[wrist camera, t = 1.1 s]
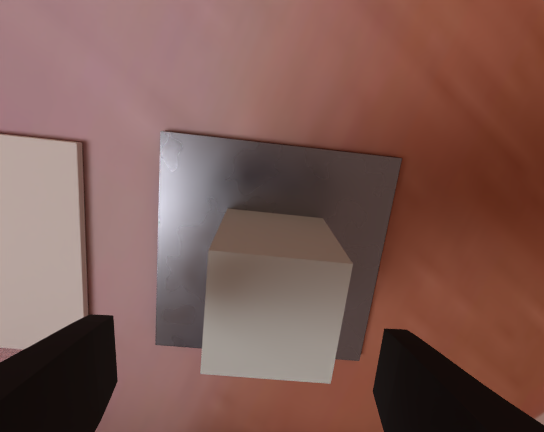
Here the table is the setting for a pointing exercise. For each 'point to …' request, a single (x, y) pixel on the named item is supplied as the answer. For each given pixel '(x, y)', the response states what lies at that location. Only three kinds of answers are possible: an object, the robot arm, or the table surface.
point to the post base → (272, 199)
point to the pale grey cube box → (274, 298)
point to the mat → (40, 238)
